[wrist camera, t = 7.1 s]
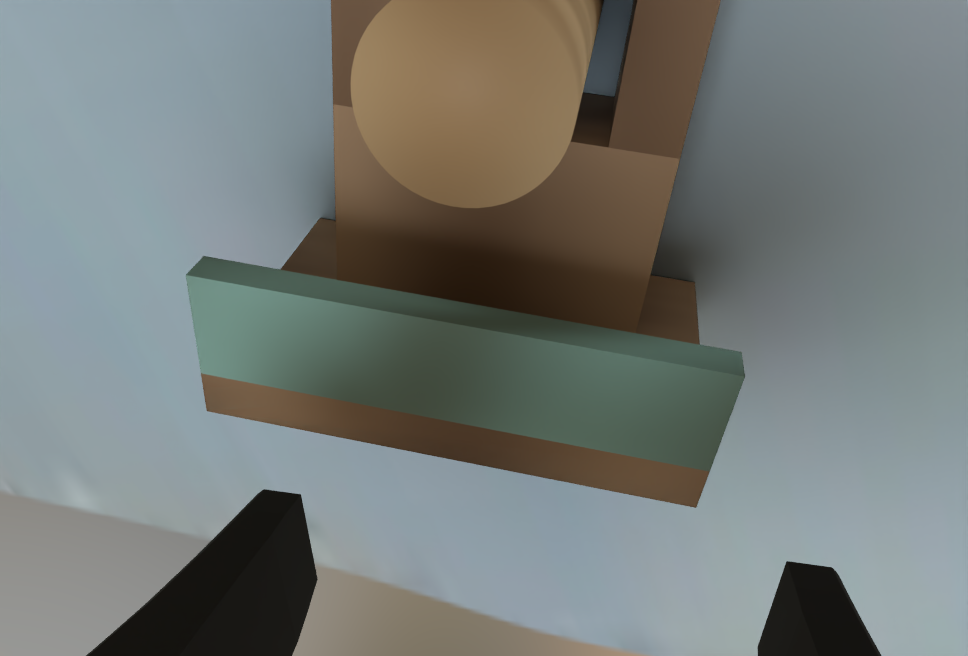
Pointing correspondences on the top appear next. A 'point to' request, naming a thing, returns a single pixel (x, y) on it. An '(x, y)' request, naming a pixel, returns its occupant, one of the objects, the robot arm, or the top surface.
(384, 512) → the top surface
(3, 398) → the top surface
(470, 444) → the brown boxy frame piece
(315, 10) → the top surface
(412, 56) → the oak peg
